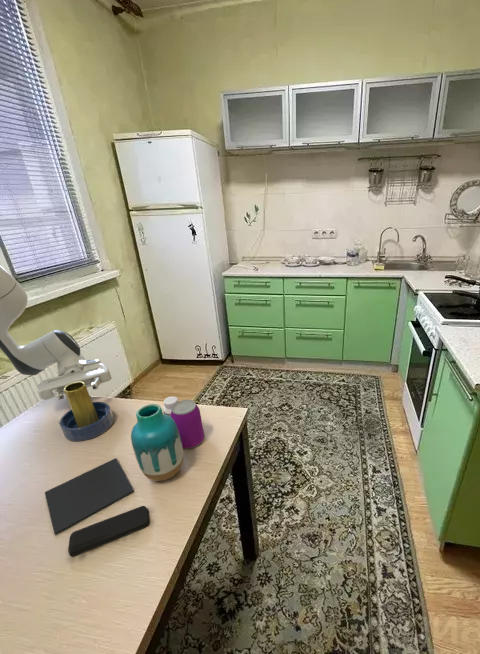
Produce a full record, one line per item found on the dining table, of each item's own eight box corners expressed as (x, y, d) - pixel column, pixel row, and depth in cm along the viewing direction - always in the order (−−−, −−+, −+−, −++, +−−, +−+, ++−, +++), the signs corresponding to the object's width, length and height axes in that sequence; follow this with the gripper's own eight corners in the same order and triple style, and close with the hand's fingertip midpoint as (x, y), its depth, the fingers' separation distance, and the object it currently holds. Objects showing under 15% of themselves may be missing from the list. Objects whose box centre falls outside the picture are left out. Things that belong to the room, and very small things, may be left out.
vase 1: (76, 434, 95) (60, 394, 88) (79, 422, 100) (63, 383, 93) (100, 429, 97) (85, 389, 90) (101, 417, 102) (87, 378, 95)
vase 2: (136, 470, 82) (116, 409, 74) (176, 450, 88) (162, 391, 80) (152, 496, 75) (132, 432, 66) (194, 472, 81) (180, 411, 73)
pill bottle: (172, 417, 101) (166, 394, 97) (187, 418, 100) (182, 395, 96) (163, 429, 96) (157, 404, 92) (180, 430, 96) (174, 405, 92)
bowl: (69, 448, 90) (64, 436, 88) (61, 426, 99) (55, 414, 97) (119, 427, 98) (115, 415, 96) (107, 408, 107) (103, 396, 105)
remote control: (148, 509, 73) (70, 537, 67) (147, 503, 72) (68, 531, 66) (150, 527, 69) (68, 558, 63) (149, 521, 68) (65, 553, 62)
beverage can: (194, 453, 87) (186, 417, 82) (171, 446, 90) (162, 411, 84) (210, 435, 94) (204, 401, 88) (188, 429, 96) (181, 395, 91)
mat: (55, 535, 67) (54, 533, 67) (45, 493, 77) (44, 492, 76) (134, 491, 77) (133, 490, 76) (116, 459, 86) (116, 457, 86)
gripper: (33, 375, 104) (33, 395, 94) (104, 357, 114) (110, 373, 104) (41, 392, 107) (41, 413, 96) (108, 373, 117) (116, 389, 107)
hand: (78, 392), depth 100 cm, fingers open, 8 cm apart
